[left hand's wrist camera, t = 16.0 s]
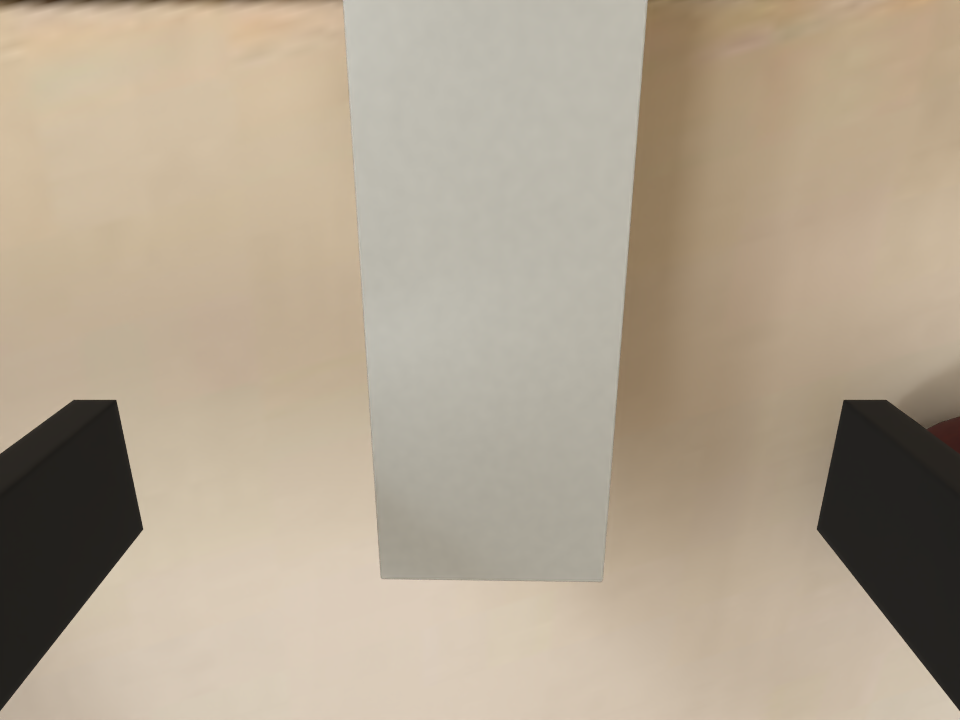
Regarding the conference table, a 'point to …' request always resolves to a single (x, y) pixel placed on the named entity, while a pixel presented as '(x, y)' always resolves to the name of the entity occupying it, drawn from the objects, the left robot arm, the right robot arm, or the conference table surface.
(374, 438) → the post
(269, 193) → the conference table surface
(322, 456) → the conference table surface
